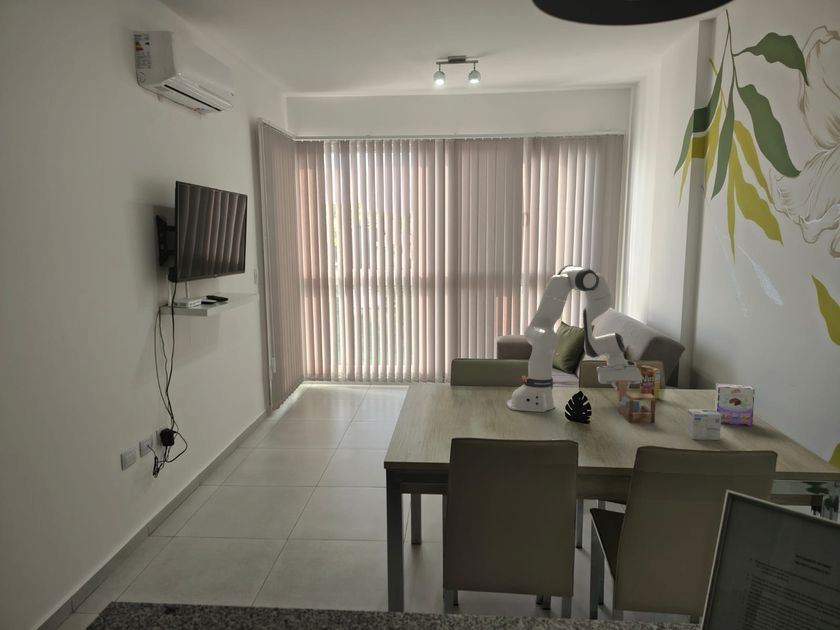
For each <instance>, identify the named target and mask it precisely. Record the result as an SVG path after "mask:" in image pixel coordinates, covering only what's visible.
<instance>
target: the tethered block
mask: <svg viewBox="0 0 840 630" xmlns="http://www.w3.org/2000/svg"><path fill="white" fill-rule="evenodd" d="M617 386H619V389H620V390H619V391H616V393H617V394H616V399H617V401H618V402H621V404H620V405H624V406H625V407H626V408H627V409H628V403H629V399H628V398H627V397H626V396H625V394H628V393H627V392H628V391H627V386H628V385H627V383H626V382H625V381H618V384H617ZM640 401H641V400H633V413H640V412H639V410H640Z"/></svg>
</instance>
